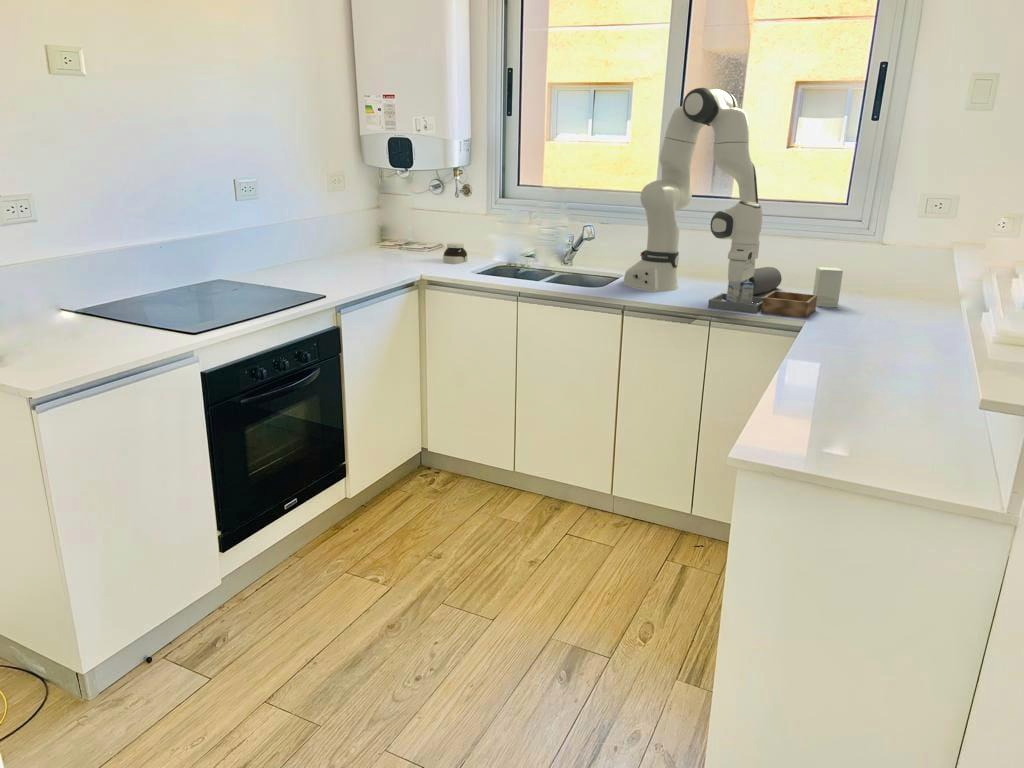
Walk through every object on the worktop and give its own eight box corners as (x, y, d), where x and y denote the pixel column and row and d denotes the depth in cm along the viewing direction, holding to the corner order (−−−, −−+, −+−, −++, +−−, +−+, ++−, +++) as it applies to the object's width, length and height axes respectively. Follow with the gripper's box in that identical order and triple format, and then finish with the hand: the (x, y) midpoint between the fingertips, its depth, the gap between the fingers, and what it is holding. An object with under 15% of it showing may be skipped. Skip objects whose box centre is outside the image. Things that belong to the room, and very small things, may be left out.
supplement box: (837, 308, 254) (843, 270, 251) (814, 306, 256) (820, 269, 252) (833, 304, 261) (839, 267, 258) (811, 302, 263) (816, 266, 259)
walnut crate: (761, 312, 243) (762, 297, 242) (772, 305, 256) (773, 290, 255) (806, 318, 236) (808, 302, 235) (815, 310, 250) (817, 295, 248)
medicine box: (725, 304, 255) (728, 279, 253) (735, 303, 257) (738, 278, 255) (740, 309, 248) (743, 282, 246) (751, 308, 250) (754, 282, 248)
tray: (707, 307, 250) (708, 299, 249) (721, 300, 263) (722, 293, 263) (756, 313, 242) (757, 305, 242) (768, 305, 256) (768, 298, 255)
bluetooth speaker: (757, 290, 285) (760, 264, 282) (781, 293, 279) (784, 267, 276) (730, 297, 268) (733, 270, 265) (755, 301, 262) (758, 273, 259)
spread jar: (455, 274, 305) (455, 245, 301) (433, 271, 311) (433, 243, 307) (472, 271, 314) (473, 243, 311) (451, 268, 320) (451, 240, 317)
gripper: (742, 248, 258) (738, 288, 262) (726, 254, 241) (721, 297, 245) (761, 249, 255) (756, 290, 259) (746, 255, 238) (741, 299, 242)
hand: (739, 293), depth 252 cm, fingers closed on medicine box, 7 cm apart
